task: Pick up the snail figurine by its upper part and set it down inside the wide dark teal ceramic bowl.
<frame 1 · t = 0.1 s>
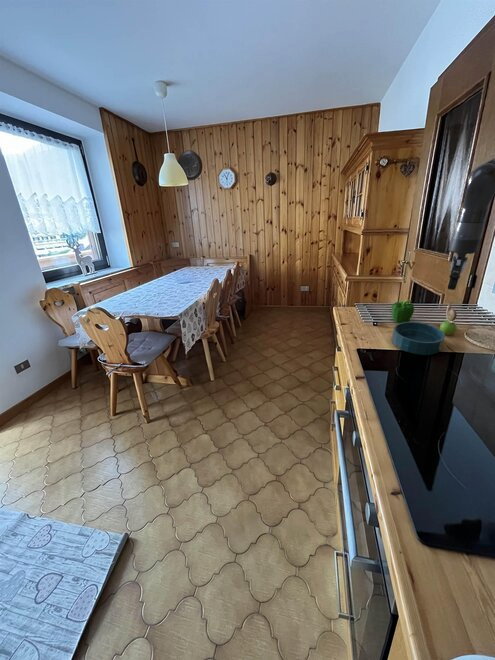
hand: (452, 285, 97), 22 cm above the counter, tool pointing down, fingers open, 8 cm apart
bowl: (415, 344, 106), on the counter
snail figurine: (445, 333, 112), on the counter
bell pepper: (400, 321, 123), on the counter
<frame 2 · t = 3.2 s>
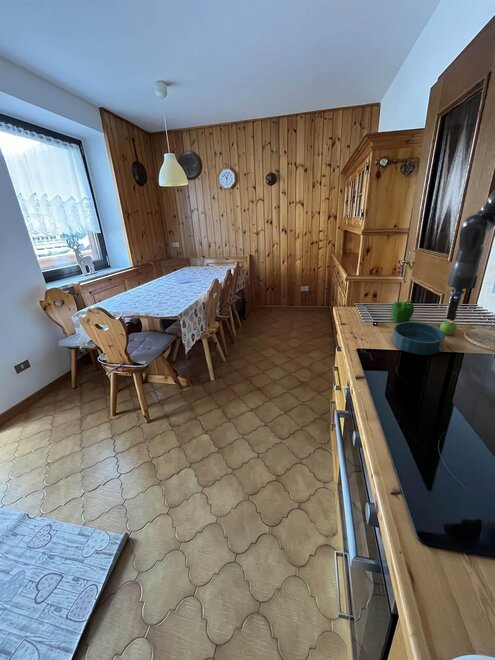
hand: (450, 316, 108), 8 cm above the counter, tool pointing down, fingers closed on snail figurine, 5 cm apart
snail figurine: (445, 333, 112), on the counter, touching gripper
everything else where it was.
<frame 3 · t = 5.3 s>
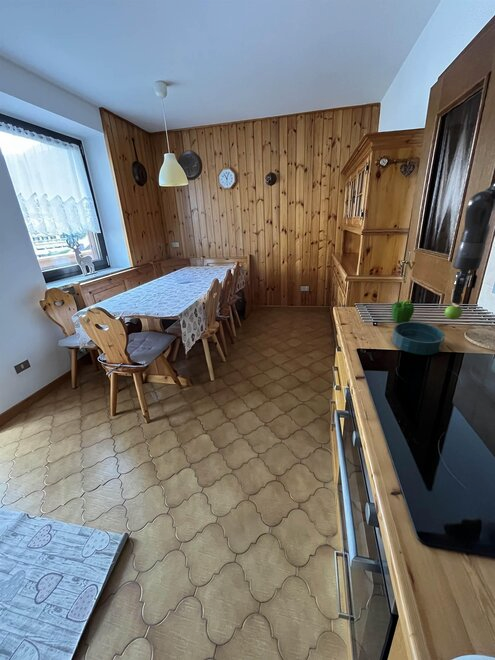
hand: (455, 300, 105), 14 cm above the counter, tool pointing down, fingers closed on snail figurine, 5 cm apart
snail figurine: (450, 318, 109), point 6 cm above the counter, touching gripper
everything else where it was.
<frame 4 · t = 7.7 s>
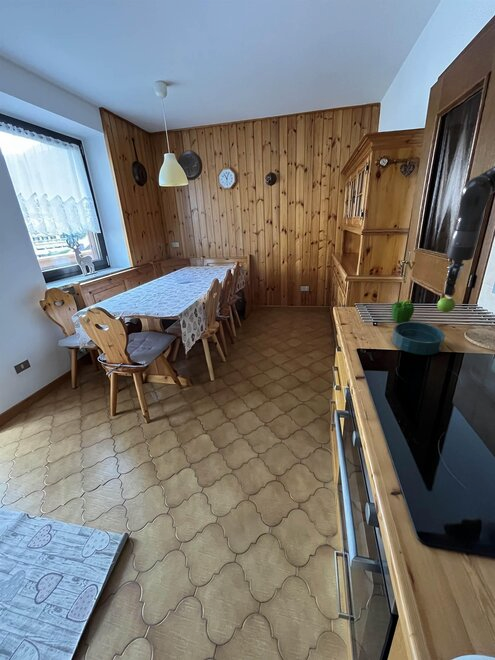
hand: (448, 291, 101), 18 cm above the counter, tool pointing down, fingers closed on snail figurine, 5 cm apart
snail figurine: (443, 311, 105), point 11 cm above the counter, touching gripper
everything else where it was.
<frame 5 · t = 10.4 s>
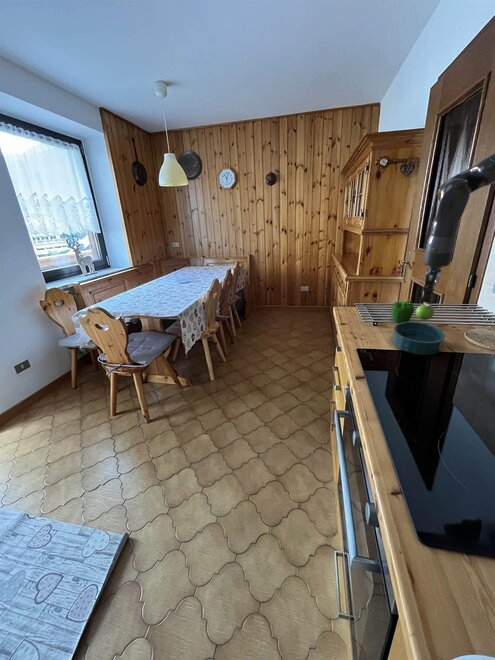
hand: (427, 298, 97), 18 cm above the counter, tool pointing down, fingers closed on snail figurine, 5 cm apart
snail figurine: (422, 319, 101), point 11 cm above the counter, touching gripper
everything else where it was.
when the fingers open (10 cm above the counter, at t = 12.8 s): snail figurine stays where it is, resting on bowl.
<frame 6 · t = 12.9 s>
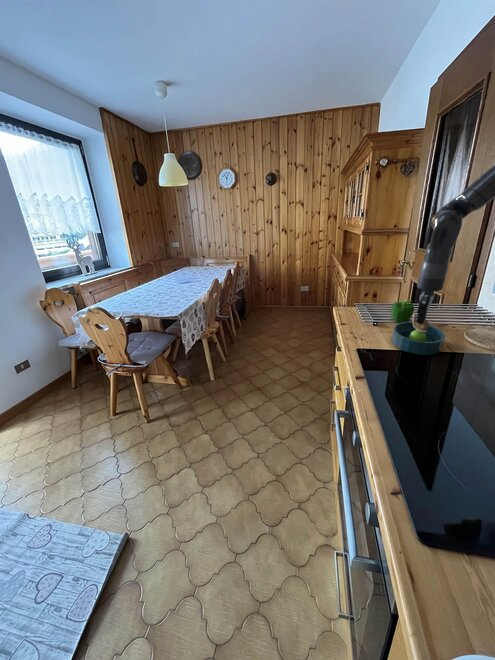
hand: (420, 321, 101), 10 cm above the counter, tool pointing down, fingers open, 3 cm apart
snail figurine: (414, 343, 105), resting on bowl
everything else where it was.
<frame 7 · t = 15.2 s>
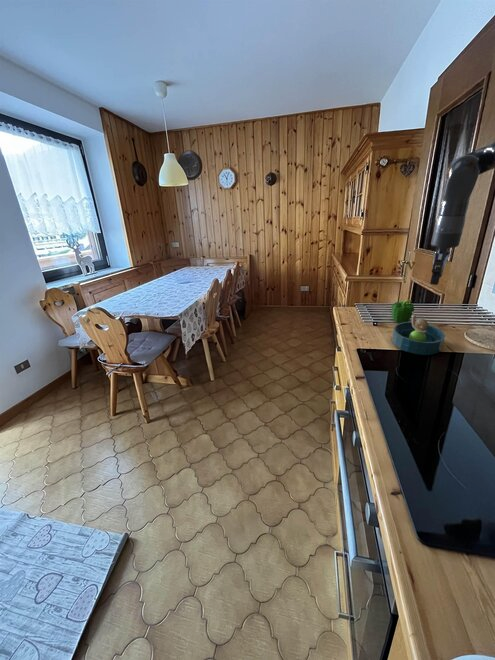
hand: (435, 280, 95), 24 cm above the counter, tool pointing down, fingers open, 8 cm apart
nothing on the counter moved.
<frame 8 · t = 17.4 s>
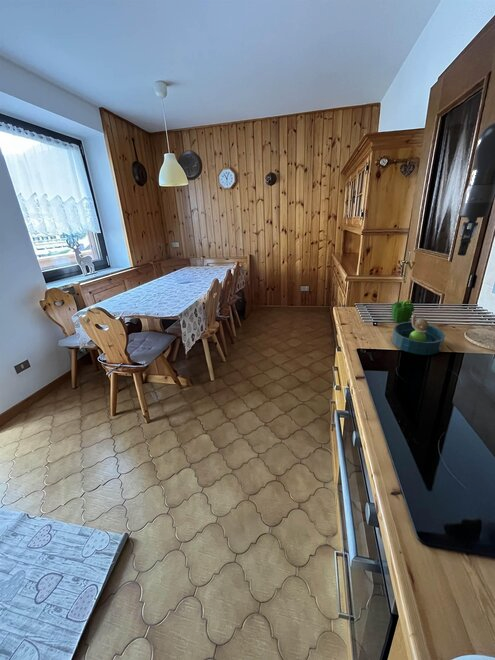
hand: (462, 252, 96), 32 cm above the counter, tool pointing down, fingers open, 8 cm apart
nothing on the counter moved.
at the end: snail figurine 0.6 cm from the bowl (horizontally); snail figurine resting on bowl; the gripper is holding nothing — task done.
